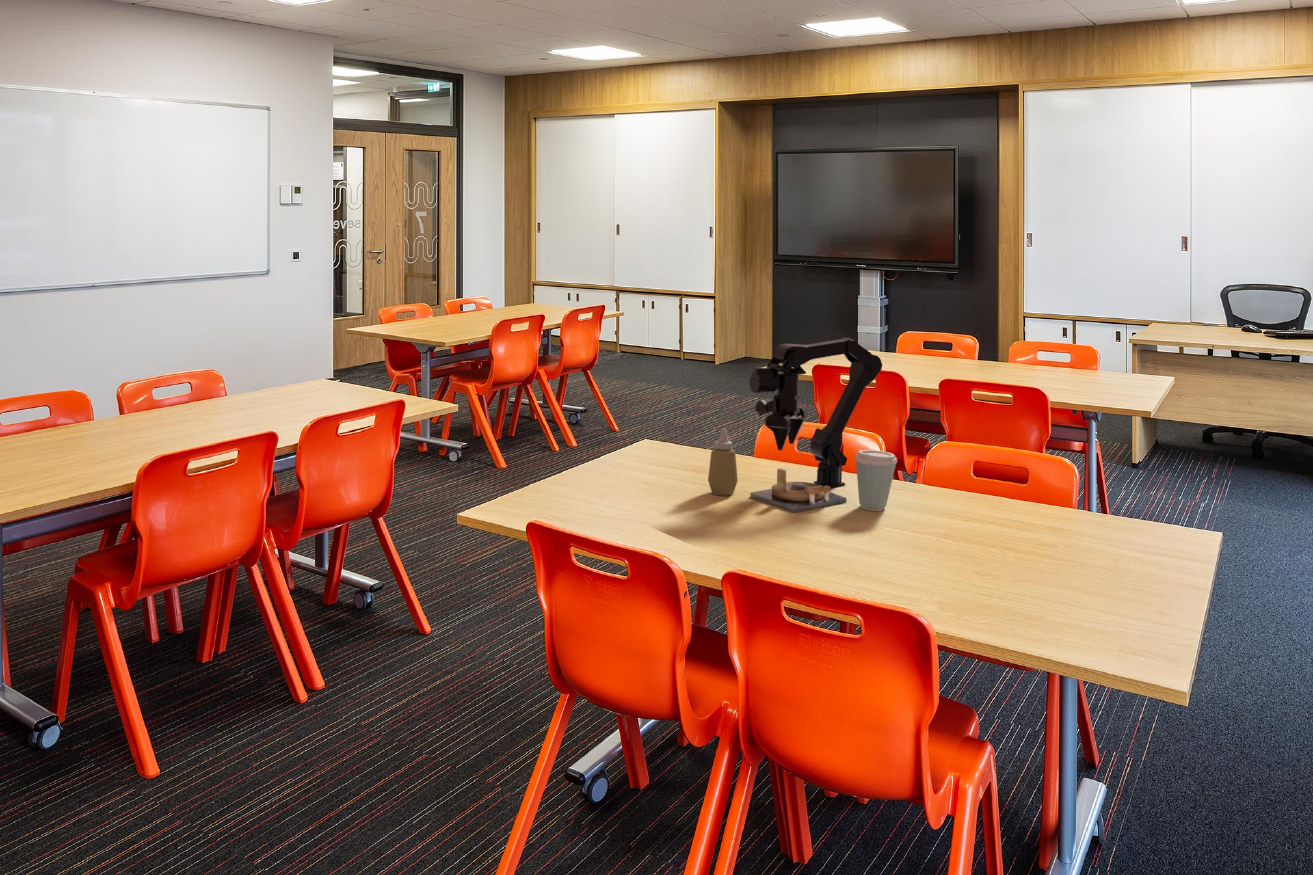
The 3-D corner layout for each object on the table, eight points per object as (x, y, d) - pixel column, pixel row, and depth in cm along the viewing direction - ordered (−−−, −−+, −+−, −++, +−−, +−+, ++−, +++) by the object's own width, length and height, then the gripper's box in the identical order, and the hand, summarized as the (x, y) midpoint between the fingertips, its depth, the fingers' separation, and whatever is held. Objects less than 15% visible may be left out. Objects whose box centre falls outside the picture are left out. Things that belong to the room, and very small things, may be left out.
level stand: (800, 487, 285) (801, 470, 284) (846, 502, 271) (847, 483, 270) (750, 496, 275) (750, 478, 274) (794, 512, 261) (795, 493, 260)
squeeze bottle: (737, 489, 282) (739, 426, 279) (737, 497, 275) (738, 432, 271) (708, 489, 283) (709, 425, 279) (707, 496, 275) (707, 431, 272)
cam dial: (799, 484, 282) (800, 457, 281) (835, 495, 271) (836, 468, 269) (760, 492, 274) (760, 464, 273) (795, 504, 263) (796, 475, 262)
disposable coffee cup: (867, 500, 273) (870, 445, 269) (902, 508, 265) (906, 451, 262) (844, 507, 265) (846, 451, 262) (880, 516, 258) (882, 458, 255)
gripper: (771, 383, 289) (769, 437, 292) (747, 393, 273) (745, 450, 276) (809, 386, 284) (807, 441, 288) (786, 397, 268) (785, 455, 271)
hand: (785, 446), depth 281 cm, fingers open, 9 cm apart
